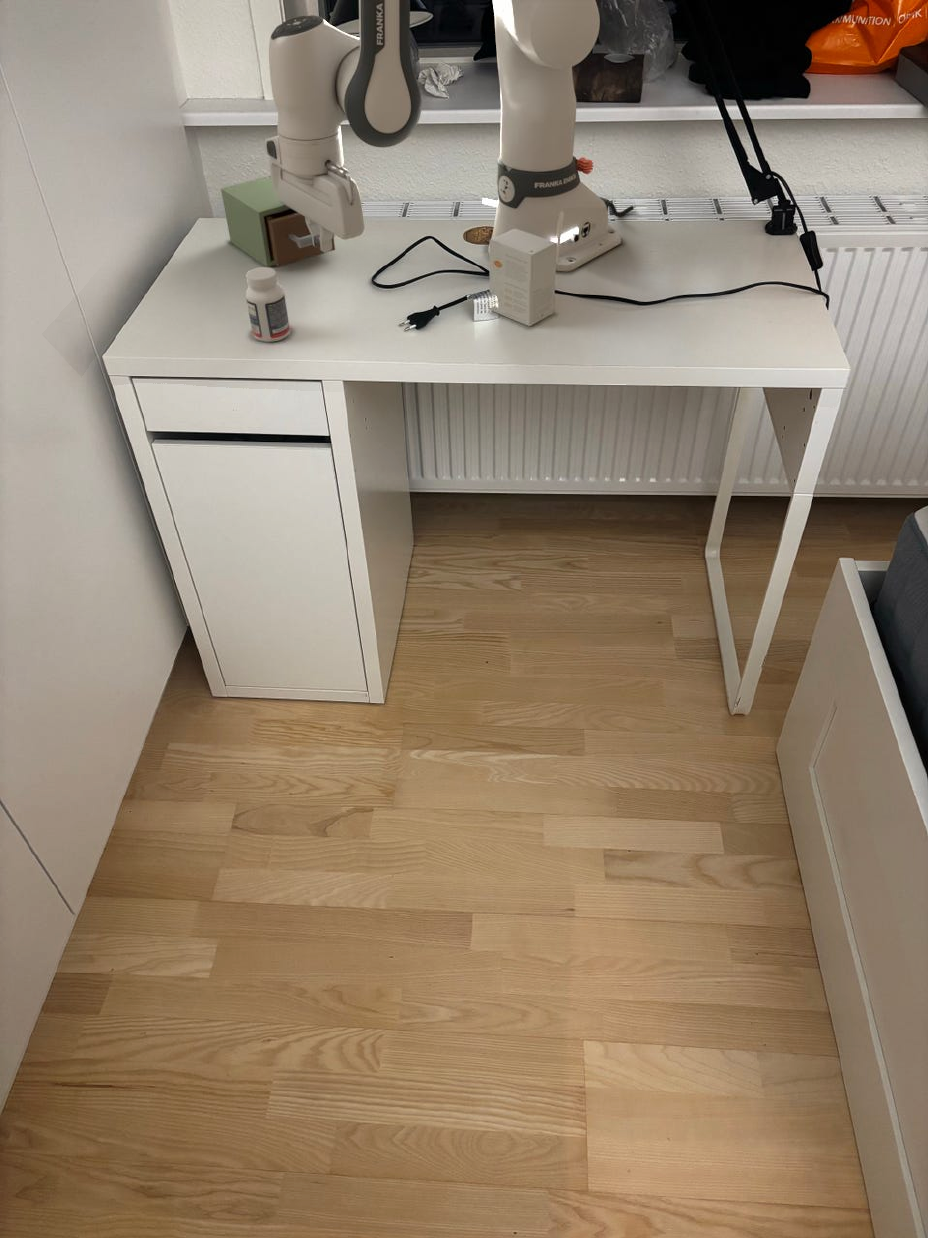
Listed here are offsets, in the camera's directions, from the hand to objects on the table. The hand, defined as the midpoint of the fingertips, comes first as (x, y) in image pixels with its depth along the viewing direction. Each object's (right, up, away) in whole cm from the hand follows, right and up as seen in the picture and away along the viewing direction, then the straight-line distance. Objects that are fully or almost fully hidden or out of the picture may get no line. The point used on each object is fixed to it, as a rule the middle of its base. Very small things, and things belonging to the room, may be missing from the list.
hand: (322, 248), depth 141 cm
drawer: (-6, +3, +8) cm, 10 cm away
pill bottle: (-6, -16, -10) cm, 20 cm away
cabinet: (-9, +5, +11) cm, 15 cm away
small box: (+30, -12, -6) cm, 33 cm away
